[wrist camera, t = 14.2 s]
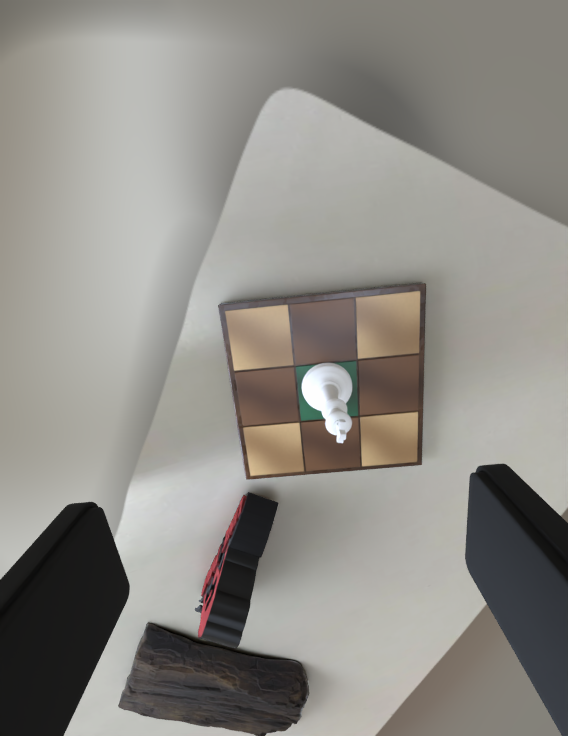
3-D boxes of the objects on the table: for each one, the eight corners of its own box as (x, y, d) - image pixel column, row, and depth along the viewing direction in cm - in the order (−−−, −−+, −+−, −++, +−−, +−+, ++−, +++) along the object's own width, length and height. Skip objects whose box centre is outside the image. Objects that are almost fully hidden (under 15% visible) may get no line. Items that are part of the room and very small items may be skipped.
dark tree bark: (147, 618, 46) (125, 687, 50) (134, 649, 42) (112, 720, 46) (320, 666, 48) (284, 727, 52) (322, 699, 44) (283, 763, 48)
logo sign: (250, 478, 38) (236, 563, 28) (279, 489, 39) (276, 576, 28) (200, 589, 43) (171, 696, 33) (225, 597, 44) (205, 705, 33)
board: (220, 303, 32) (217, 305, 31) (421, 282, 32) (427, 283, 30) (247, 473, 38) (245, 481, 37) (417, 458, 37) (422, 466, 36)
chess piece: (355, 364, 33) (383, 407, 23) (348, 410, 34) (372, 469, 25) (303, 360, 33) (311, 402, 23) (299, 407, 34) (305, 465, 25)
